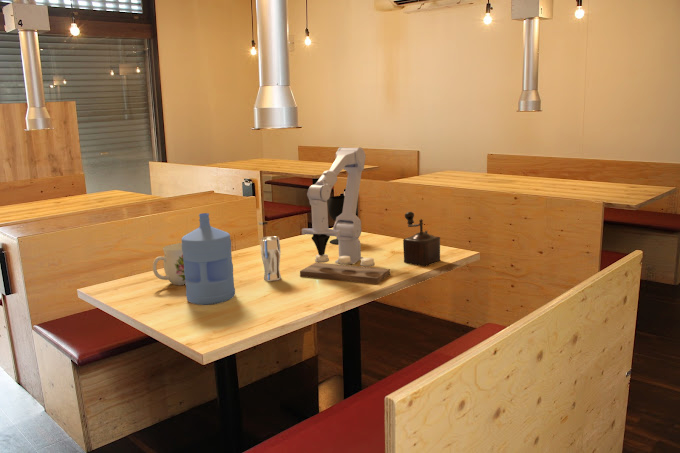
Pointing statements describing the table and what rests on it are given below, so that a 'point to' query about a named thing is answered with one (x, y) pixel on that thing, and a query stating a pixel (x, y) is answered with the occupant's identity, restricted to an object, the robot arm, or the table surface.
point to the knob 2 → (344, 260)
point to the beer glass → (271, 257)
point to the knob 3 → (367, 262)
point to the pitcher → (172, 264)
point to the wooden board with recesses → (345, 273)
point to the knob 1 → (322, 258)
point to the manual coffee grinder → (420, 245)
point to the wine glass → (335, 210)
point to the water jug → (208, 264)
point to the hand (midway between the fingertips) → (321, 254)
